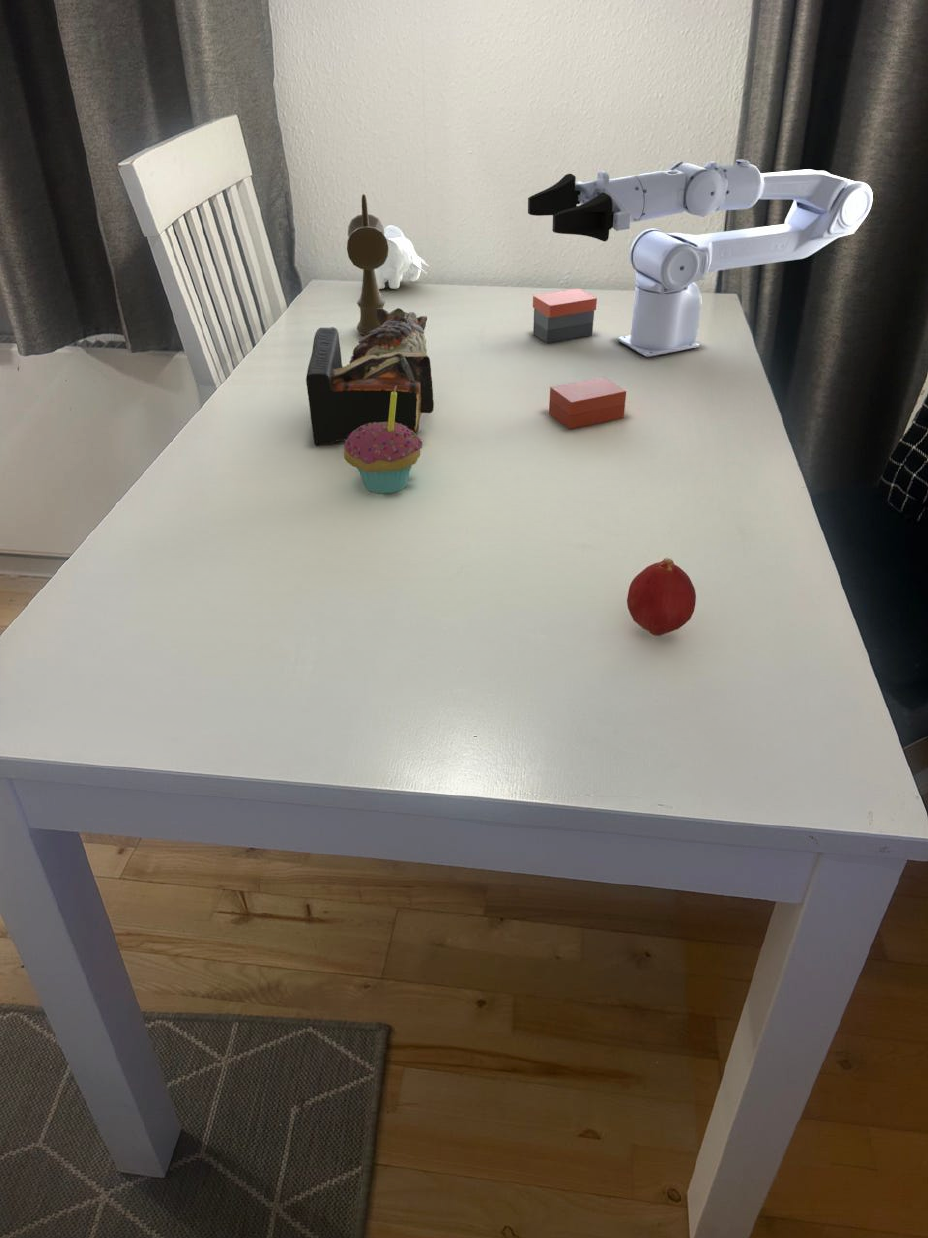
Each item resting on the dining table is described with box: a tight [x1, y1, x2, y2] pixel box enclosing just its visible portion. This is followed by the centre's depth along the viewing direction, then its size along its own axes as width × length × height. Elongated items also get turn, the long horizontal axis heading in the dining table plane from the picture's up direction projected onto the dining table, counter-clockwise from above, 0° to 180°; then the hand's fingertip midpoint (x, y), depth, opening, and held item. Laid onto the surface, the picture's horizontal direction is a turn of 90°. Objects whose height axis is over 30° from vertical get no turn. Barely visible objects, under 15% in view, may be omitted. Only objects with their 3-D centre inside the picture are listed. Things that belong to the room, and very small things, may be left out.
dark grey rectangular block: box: [532, 321, 594, 344], centre depth 140 cm, size 8×4×2 cm, turn 115°
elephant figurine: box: [374, 224, 430, 290], centre depth 159 cm, size 10×12×9 cm
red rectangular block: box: [548, 400, 626, 430], centre depth 117 cm, size 8×5×2 cm
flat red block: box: [532, 287, 598, 318], centre depth 138 cm, size 8×5×2 cm
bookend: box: [305, 307, 435, 446], centre depth 118 cm, size 15×11×25 cm
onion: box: [626, 557, 697, 637], centre depth 79 cm, size 6×6×8 cm
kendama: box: [346, 193, 389, 336], centre depth 137 cm, size 6×10×20 cm, turn 7°
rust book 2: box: [549, 376, 627, 416], centre depth 116 cm, size 8×5×2 cm
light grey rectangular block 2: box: [533, 308, 595, 330], centre depth 139 cm, size 8×4×2 cm, turn 115°
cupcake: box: [343, 386, 423, 495], centre depth 100 cm, size 9×8×12 cm
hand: (541, 214), depth 119 cm, fingers open, 7 cm apart
